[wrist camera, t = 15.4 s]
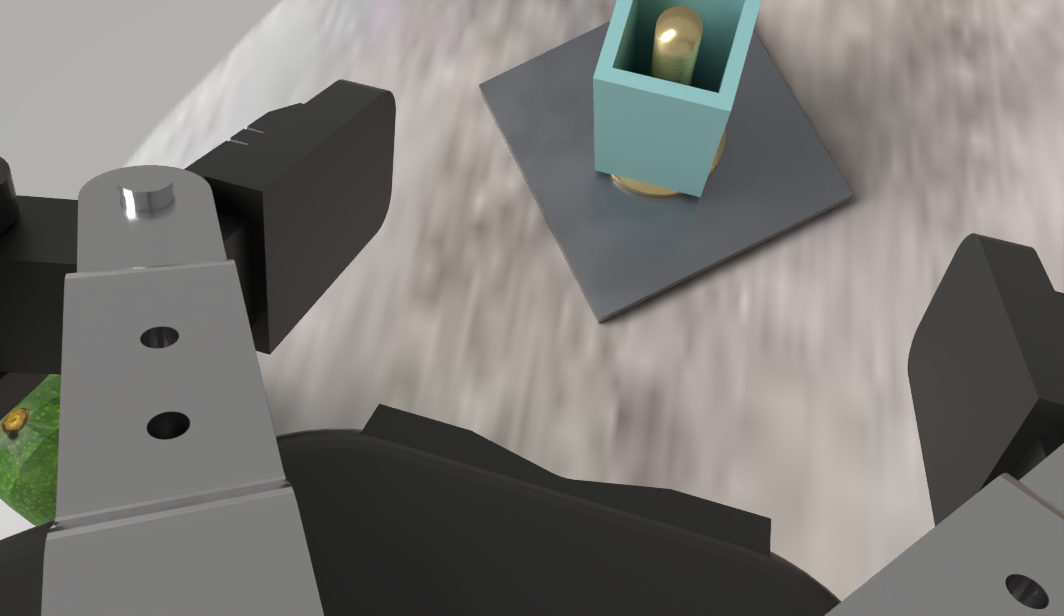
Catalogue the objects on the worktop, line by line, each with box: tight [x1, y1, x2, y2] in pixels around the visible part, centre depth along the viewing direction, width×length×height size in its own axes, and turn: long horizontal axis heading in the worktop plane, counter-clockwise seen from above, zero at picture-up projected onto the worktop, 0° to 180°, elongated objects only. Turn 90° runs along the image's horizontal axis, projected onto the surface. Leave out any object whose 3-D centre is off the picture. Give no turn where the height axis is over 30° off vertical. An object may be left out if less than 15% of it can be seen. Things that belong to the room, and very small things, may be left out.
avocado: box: [0, 374, 61, 526], centre depth 37 cm, size 8×8×12 cm
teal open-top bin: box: [593, 0, 761, 197], centre depth 38 cm, size 5×5×10 cm
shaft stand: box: [479, 6, 853, 323], centre depth 39 cm, size 14×14×12 cm
